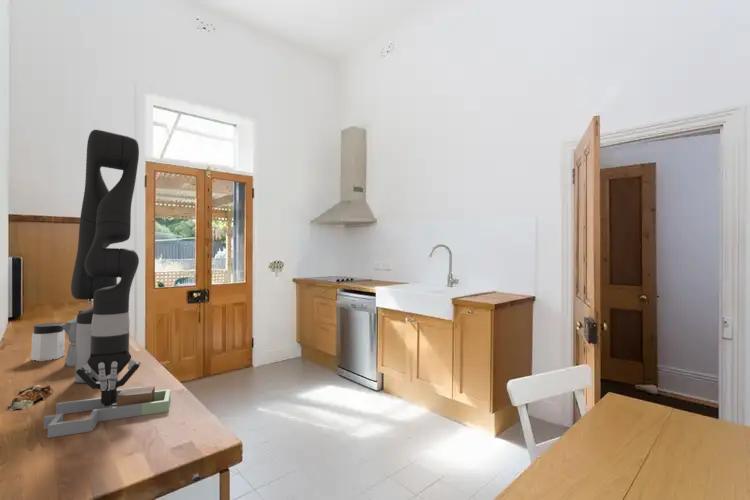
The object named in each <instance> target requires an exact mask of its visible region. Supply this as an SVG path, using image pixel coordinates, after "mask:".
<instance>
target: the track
mask: <svg viewBox="0 0 750 500" xmlns="http://www.w3.org/2000/svg"><path fill="white" fill-rule="evenodd" d="M140 387H145V386H143V385H142V386H136V387H135V386H134V387H133V388H140ZM130 388H131V387H126V388H124V389H130ZM122 389H123V388H119V389H118V388H117V396H118V394H119V393H120V392H121V390H122ZM171 392H172V391H171V388H169V389H168V388H166V389H160V390H155V399H154V402H147V403H140V404H132V405H124V406H117V398H116V400H115V402H114V403H113V404H112V405H111V406H104V404H102V403H101V397H94V398H87V399H79V400H70V401H63V402H57V403H56V405H55V406H56V407H55V414H50V415H45V416H44V417H43V430H47V439H50V438H56V437H62V436H70V435H75V434H83V433H88V432H93V431H94V429H95V427H96V426H97V424H98V422H104V421H113V420H118V419H119V420H120V419H125V418H132V417H139V416H146V415H153V414H154V415H155V414H161V413H166V412H169V408H170V402H171ZM88 411H89V412H90V411H91V413H90V414H89V416H88V418H80V419H74V420H65V421H64V415H66V414H75V413H82V412H88Z"/></svg>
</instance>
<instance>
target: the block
mask: <svg viewBox="0 0 750 500" xmlns="http://www.w3.org/2000/svg"><path fill="white" fill-rule="evenodd" d="M139 387H140V388H134V387H129V388H130V389H125V388H121V389H122V390H121V392H120V393H119V394H118V396H117V405H116V407H117V406H124V405H132V404H140V403H147V402H154V399H155V391H156V389H155V388H156V386H155V385H153V386H144V387H142V386H139Z"/></svg>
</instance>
